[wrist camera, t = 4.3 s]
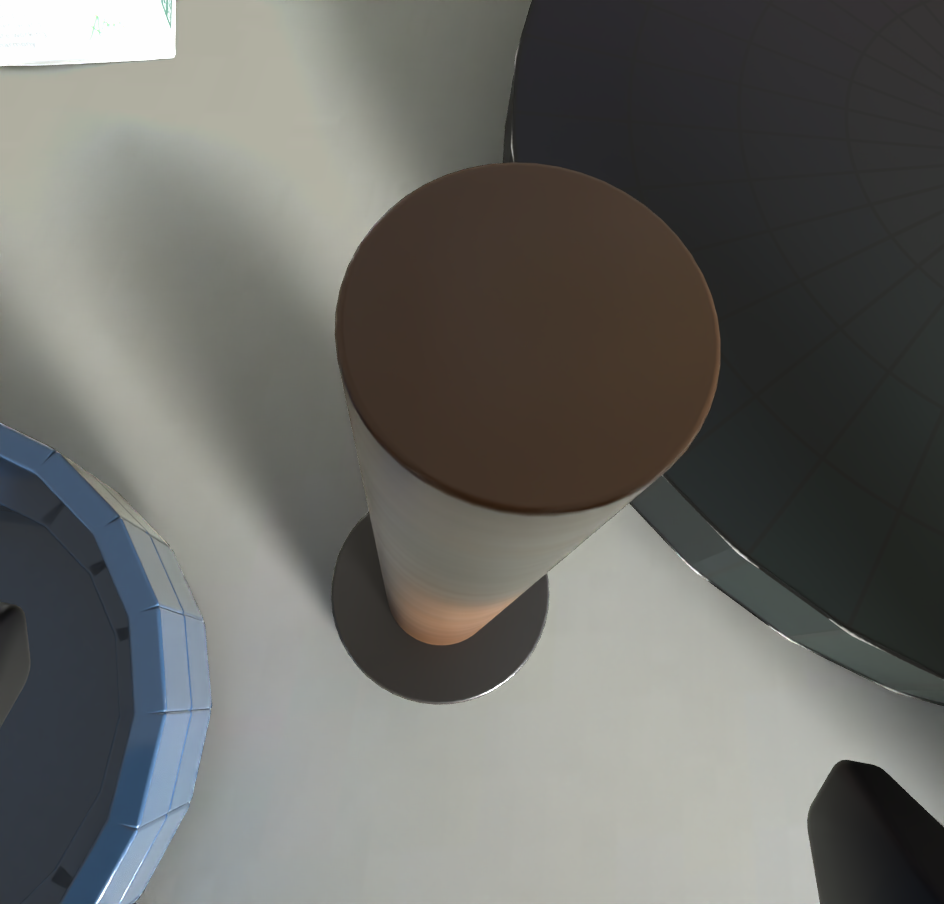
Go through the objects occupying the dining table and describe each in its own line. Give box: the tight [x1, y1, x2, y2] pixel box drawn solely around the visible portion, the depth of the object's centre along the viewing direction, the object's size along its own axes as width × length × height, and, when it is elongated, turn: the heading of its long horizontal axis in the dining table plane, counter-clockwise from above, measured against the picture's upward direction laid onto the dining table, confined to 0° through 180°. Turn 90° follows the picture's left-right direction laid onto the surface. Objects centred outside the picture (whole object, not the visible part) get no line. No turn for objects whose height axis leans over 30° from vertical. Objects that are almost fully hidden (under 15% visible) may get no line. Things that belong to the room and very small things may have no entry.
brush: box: [331, 162, 720, 704], centre depth 11 cm, size 4×4×15 cm
